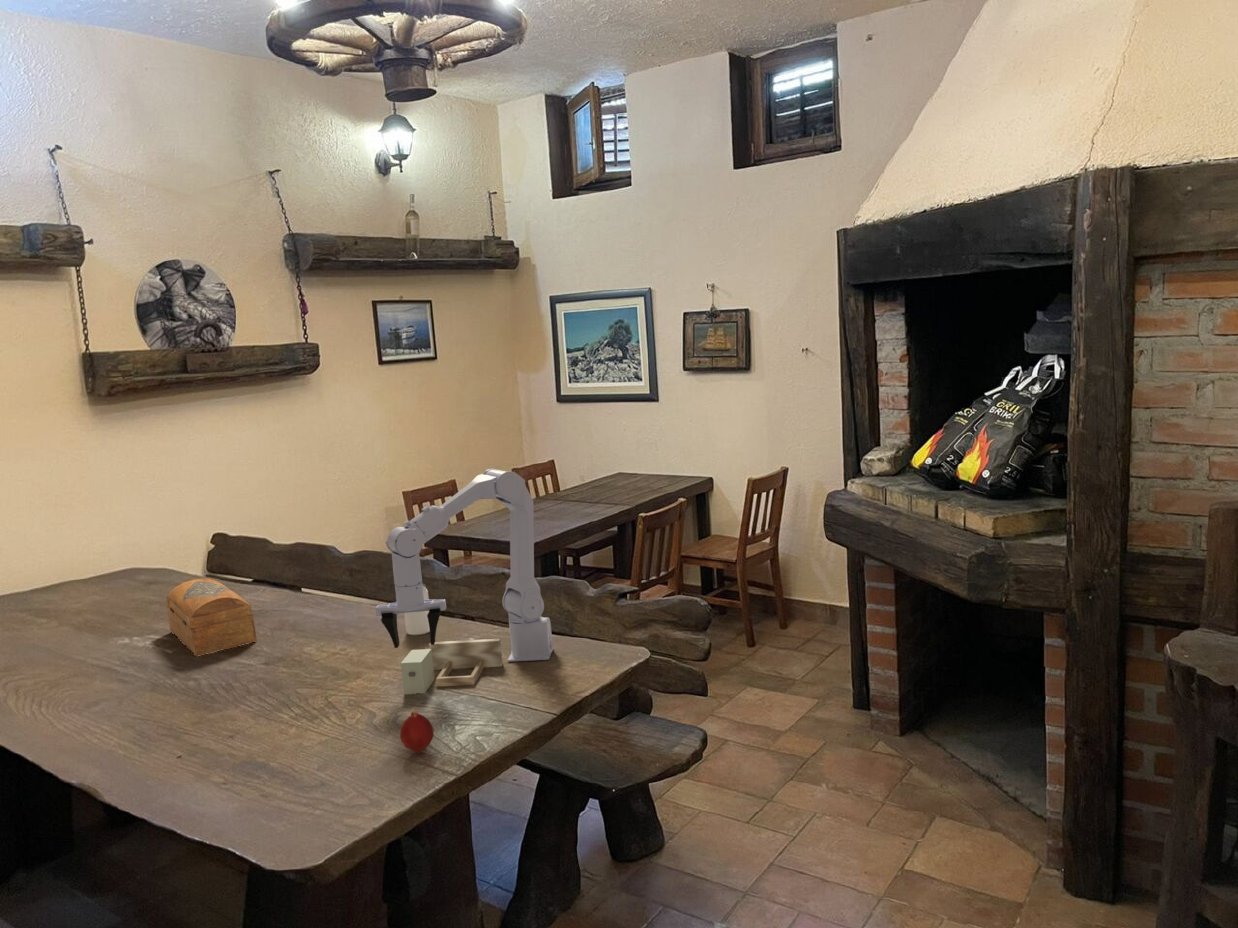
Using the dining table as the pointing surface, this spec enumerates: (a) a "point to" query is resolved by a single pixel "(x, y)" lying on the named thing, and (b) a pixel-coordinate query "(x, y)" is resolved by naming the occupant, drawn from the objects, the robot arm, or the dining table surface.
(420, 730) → the onion
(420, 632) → the can
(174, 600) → the wooden box
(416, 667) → the cabinet block
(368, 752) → the dining table surface
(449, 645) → the wall board
